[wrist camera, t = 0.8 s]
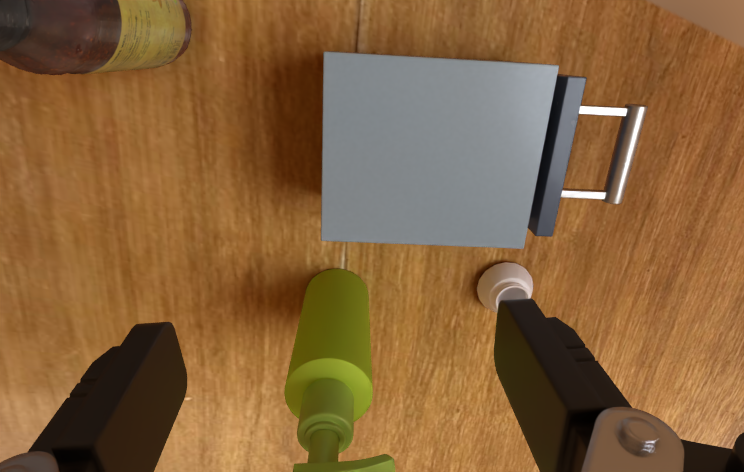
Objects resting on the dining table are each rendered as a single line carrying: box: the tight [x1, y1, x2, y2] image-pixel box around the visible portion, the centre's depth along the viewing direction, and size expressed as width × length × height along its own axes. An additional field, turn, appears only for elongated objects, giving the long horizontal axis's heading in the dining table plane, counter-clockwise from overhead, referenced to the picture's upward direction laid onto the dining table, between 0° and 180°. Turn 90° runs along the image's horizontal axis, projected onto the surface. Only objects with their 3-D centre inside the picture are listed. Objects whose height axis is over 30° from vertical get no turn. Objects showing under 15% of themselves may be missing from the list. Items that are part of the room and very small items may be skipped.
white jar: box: [477, 262, 533, 313], centre depth 41 cm, size 5×3×5 cm
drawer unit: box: [321, 51, 559, 249], centre depth 33 cm, size 14×12×10 cm
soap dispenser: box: [285, 269, 395, 472], centre depth 33 cm, size 6×7×20 cm
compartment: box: [528, 74, 648, 237], centre depth 33 cm, size 19×10×8 cm, turn 87°
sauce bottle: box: [0, 0, 192, 75], centre depth 24 cm, size 7×6×20 cm
